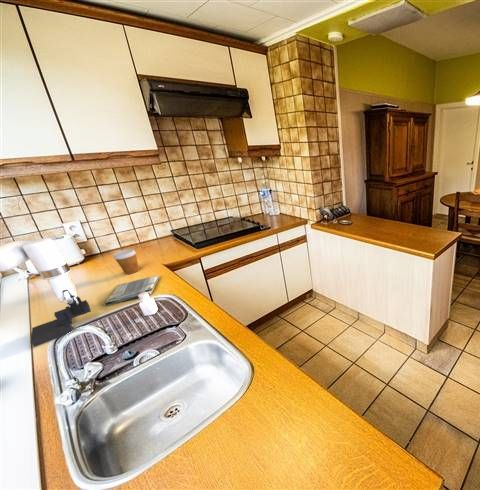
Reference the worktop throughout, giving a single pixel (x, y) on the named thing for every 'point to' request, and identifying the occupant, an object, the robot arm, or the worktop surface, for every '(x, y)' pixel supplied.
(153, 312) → the pepper shaker
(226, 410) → the worktop surface
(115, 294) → the dish towel
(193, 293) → the worktop surface
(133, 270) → the disposable coffee cup
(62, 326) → the charcoal pad
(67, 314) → the black pad
